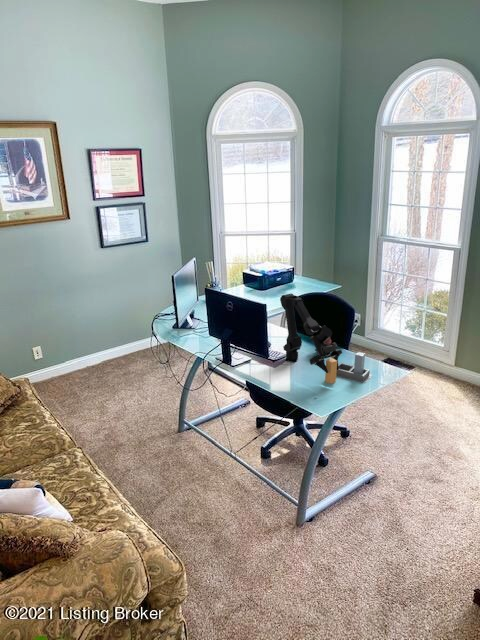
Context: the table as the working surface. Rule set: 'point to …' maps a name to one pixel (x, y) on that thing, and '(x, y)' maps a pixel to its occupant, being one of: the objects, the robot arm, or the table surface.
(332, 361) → the yellow upright block
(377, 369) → the table surface
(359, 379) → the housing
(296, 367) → the table surface
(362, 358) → the grey rectangular block
